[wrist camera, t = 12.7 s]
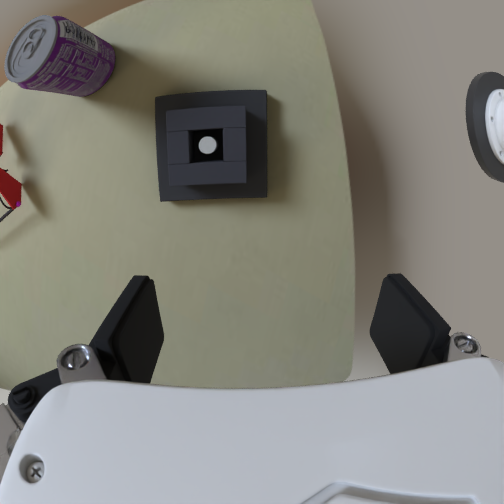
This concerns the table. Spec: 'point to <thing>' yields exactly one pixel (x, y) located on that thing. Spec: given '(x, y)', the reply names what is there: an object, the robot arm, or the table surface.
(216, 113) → the dark grey socket block
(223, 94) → the black base pad
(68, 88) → the beverage can
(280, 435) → the robot arm
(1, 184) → the glasses
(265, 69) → the table surface
